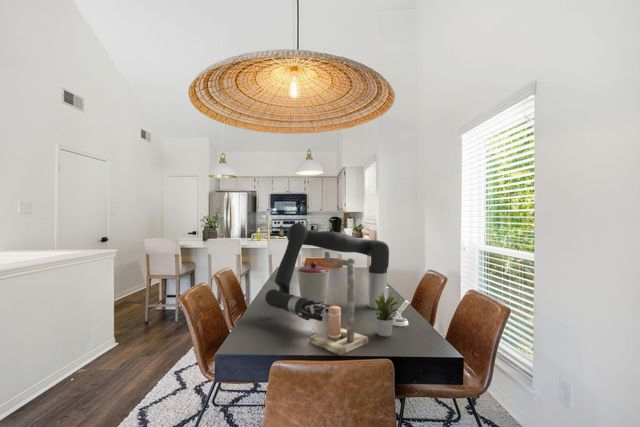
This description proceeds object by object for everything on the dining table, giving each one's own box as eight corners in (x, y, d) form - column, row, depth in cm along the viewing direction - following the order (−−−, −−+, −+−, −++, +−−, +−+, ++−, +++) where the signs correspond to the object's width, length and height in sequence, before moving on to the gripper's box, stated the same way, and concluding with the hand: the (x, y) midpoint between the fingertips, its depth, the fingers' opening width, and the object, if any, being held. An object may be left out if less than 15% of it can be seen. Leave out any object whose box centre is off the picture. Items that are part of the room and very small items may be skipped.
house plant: (396, 345, 111) (396, 299, 111) (360, 337, 118) (360, 293, 118) (407, 333, 123) (408, 291, 123) (374, 326, 130) (374, 286, 130)
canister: (336, 299, 171) (336, 261, 171) (318, 307, 156) (318, 265, 156) (309, 295, 181) (309, 258, 181) (289, 302, 165) (289, 262, 165)
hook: (422, 314, 130) (410, 305, 129) (404, 336, 131) (391, 327, 130) (415, 305, 137) (403, 297, 136) (398, 326, 139) (386, 318, 137)
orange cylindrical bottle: (336, 337, 118) (336, 305, 118) (343, 341, 114) (343, 308, 114) (325, 339, 115) (325, 307, 116) (332, 344, 111) (332, 310, 112)
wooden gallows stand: (310, 342, 113) (310, 253, 113) (338, 331, 123) (338, 250, 124) (340, 355, 103) (340, 257, 103) (368, 342, 113) (368, 253, 113)
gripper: (287, 300, 123) (316, 309, 111) (314, 294, 133) (342, 302, 121) (287, 319, 123) (316, 330, 111) (313, 312, 133) (342, 321, 121)
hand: (330, 315), depth 116 cm, fingers open, 8 cm apart
